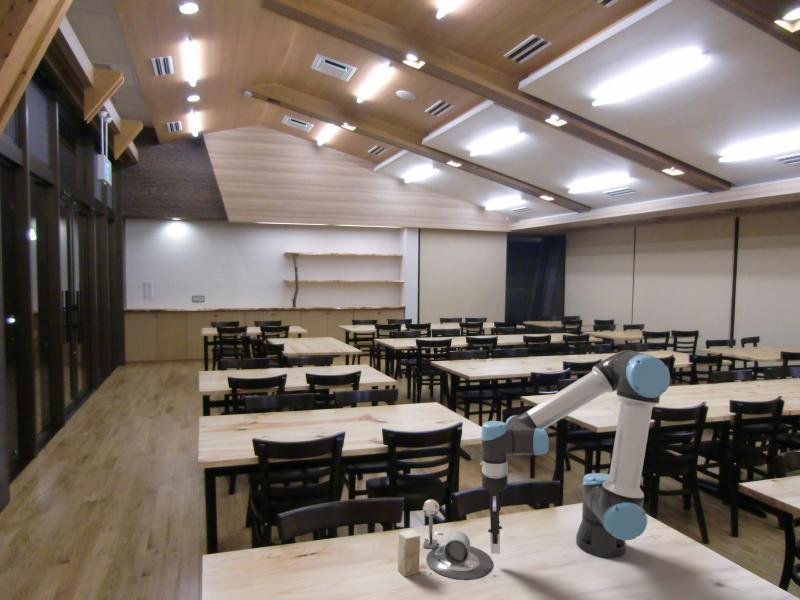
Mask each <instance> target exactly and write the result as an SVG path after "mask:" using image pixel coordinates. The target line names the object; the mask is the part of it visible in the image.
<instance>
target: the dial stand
mask: <svg viewBox="0 0 800 600" xmlns="http://www.w3.org/2000/svg"><path fill="white" fill-rule="evenodd" d="M422 511H423V514H424V515H425V516H426V517H428V538H425V539H424V541H423V545H422V547H423V548H425V549H432V550H433V549H435V548H437V547H438V546H437V545H438V539H433V535H437V536H438V535H439V536H444V533H443V532H435V531H433V529H434V528H433V527H434V526H433V525H434V522H433V521H434V518H435V517H437V515H438V514H439V511H440V505H439V502H438V501H436V500H435V499H427V500H426V501H424V504H423V507H422Z"/></svg>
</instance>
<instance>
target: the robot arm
mask: <svg viewBox="0 0 800 600" xmlns="http://www.w3.org/2000/svg"><path fill="white" fill-rule="evenodd" d="M670 383H671V374H670V370H669V369H668V367H667V365H666V364H665V363H664V362H663V360H661V359H659V358H658V357H655V356H654V355H652V354H648V353H644V352H639V351H635V350H630V349H629V350H628V349H626V350H622V351H621V350H620V351H619V352H616V353H614V354H612V355H611V356H608V357H607V358H605V359H604V360H602V361H600V362H599V363H597V364H595V365H593V367H592V369H591V371H590V372H589V373H587V374H586V375H584V376H582V377H581V378H579V379H577V380H575V381H574V382H572V383H570V384H569V385H567V386H566V387H564V388H562V389H561V390H560V391H558V392H556V393H555V394H553V395H551V396H549V397H548V398H547V399H545V400H543V401H542V402H539V404H536V405H535V406H534V407H532V408H530V409H528V410H527V411H525V412H523V413H521V414H520V415H516V414H515V415H511V416H509V417H508V418H507V419H506V421H505V422H503V421H500V420H498V421H497V420H488V421H485V422H483V424H482V426H481V436H480V438H481V462H480V463H479V465H480V466H481V472H482V475H481V486H482V488H483V489H484V490H486V491H488V493H487V501H488V509H489V512H490V514H489V515H490V516H489V517H490V520H489V521H490V528H489V529H488V533H490V554H498V555H500V554H501V533H500V532H501V530H502V529H503V526H502V525H500V523H501V522H500V511H501V508H502V505H501V504H502V491H505V490H506V489H508V473H509V472H508V471H509V470H508V456H510V455H511V456H512V455H513V456H521V455H522V456H524V455H525V456H526V455H527V456H538V455H540V456H541V455H546V454H547V453H548V451H549V449H550V445H549V443H550V442H549V441H550V439H549V435H548V432H547V430H546V428H548V427H551V426H552V425H553V424H555V423H556V422H559V421H560V420H561V419H564V418H565V417H566V416H569V415H570V414H572V413H573V412H575V411H577V410H579V409H580V408H581V407H584V406H585V405H587V404H588V403H590V402H592V401H593V400H595V399H597V398H598V397H600V396H601V395H604V394H605V393H613V392H615V391H616V397H618V399H619V401H620V406H619V411H618V418H617V423H616V430H615V437H614V444H613V450H612V457H611V461H610V462H611V463H610V467H609V473H601V472H600V473H599V472H592V473H587V474H585V475H584V476H583V479H582V480H583V481H582V483H581V484H582V485H581V486H582V512H581V513H582V515H581V516H582V518H581V521H580V525H579V527H578V530H577V533H576V535H575V543H576V545H577V547H578V548H580V550H582V551H583V552H586V553H589V554H591V555H594V556H597V557H601V558H617V557H621V556H624V555H625V554H626V552H627V542H626V541H630V540H631V541H632V540H635V539H636V538H637V537H639V536H641V535H643V533H644V532H645V530H646V528H647V526H648V517H647V513H646V511H645V510H644V508H643V506H644V505H643V504H644V499H645V494H644V492H643V491H642V489H641V487H640V485H641V480H642V475H643V468H644V467H643V466H644V462H645V461H644V460H645V457H646V454H645V453H646V449H647V443H648V437H649V436H648V435H649V431H650V425H651V424H650V422H651V418H652V414H653V413H652V411H653V408H655V407H656V406H657V405H659V404H660V399H661V396H662V395H663V394H664V393H665V392H667V390H668V389H669V387H670Z"/></svg>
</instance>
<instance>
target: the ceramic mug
mask: <svg viewBox="0 0 800 600" xmlns="http://www.w3.org/2000/svg"><path fill="white" fill-rule="evenodd" d="M444 545H445V546H444ZM444 545H441V546H442V547H440V546H439V547H440V548H438V549H437V550H436V551H435V556H436V558H437V559H443V558H445V559H446V560H447V562H449V563H450V564H452V565H455V566H460V565H463V564H464V563H465V562H466V561H467V560H468V557H469V551H470V546H471V541H470V538H469V536H468V535H467V534H465V533H464V532H461V531H453V532H452V533H450V534H449V536H448V537H447V539H446V542H445V544H444ZM441 552H443V553H441Z"/></svg>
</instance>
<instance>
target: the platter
mask: <svg viewBox="0 0 800 600" xmlns="http://www.w3.org/2000/svg"><path fill="white" fill-rule="evenodd" d="M442 546H445V544H444V545H440V546H436V548H435V549H433V548H432V549H431V550H430V551H429V552H428V554H427V555H426V564H427V566H428V567H429V568H430V569H431V570H432V571H433V572H434V573H436V574H438V575H440V576H443V577H445V578H449V579H454V580H474V579H479V578H482V577H484V576H487V574H489V573H490V572H491V571H492V569H493V566H494V565H493V564H494V563H493V559H492V557H490V555H489V554H488V553H487V552H485V551H484V550H482V549H480V548H477V547H475V546H471V545H470V551H469V557H468V560H467V561H466V562H465V563H464V564H463V565H460V566H455V565H452V564H450V563H449V562H447V560H446V559H445V558H443V559H437V558H436V556H435V551H436V550H437V549H438V548H440V547H442ZM441 553H443V552H441Z"/></svg>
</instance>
